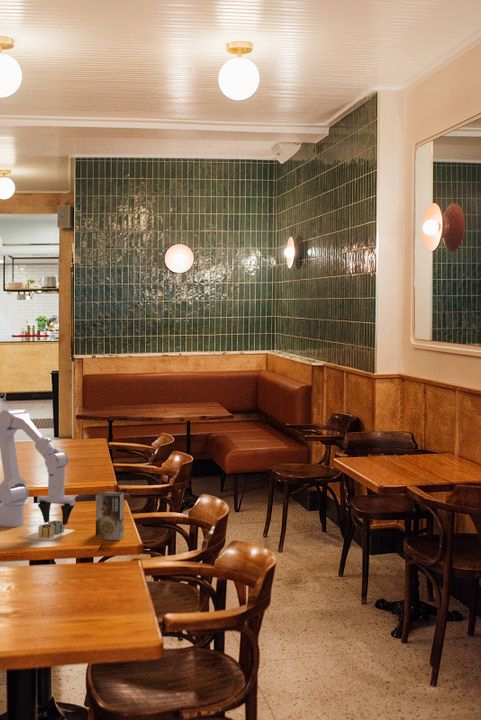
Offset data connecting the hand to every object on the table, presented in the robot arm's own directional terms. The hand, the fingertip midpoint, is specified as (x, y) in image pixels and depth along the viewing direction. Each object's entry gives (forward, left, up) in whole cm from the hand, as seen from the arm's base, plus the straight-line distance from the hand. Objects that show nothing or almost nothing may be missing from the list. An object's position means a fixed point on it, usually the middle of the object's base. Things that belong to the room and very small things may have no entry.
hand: (55, 523), depth 294 cm
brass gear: (0, -6, -3) cm, 7 cm away
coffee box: (+19, +5, -5) cm, 20 cm away
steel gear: (0, 0, -3) cm, 3 cm away
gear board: (-1, -3, -4) cm, 5 cm away
